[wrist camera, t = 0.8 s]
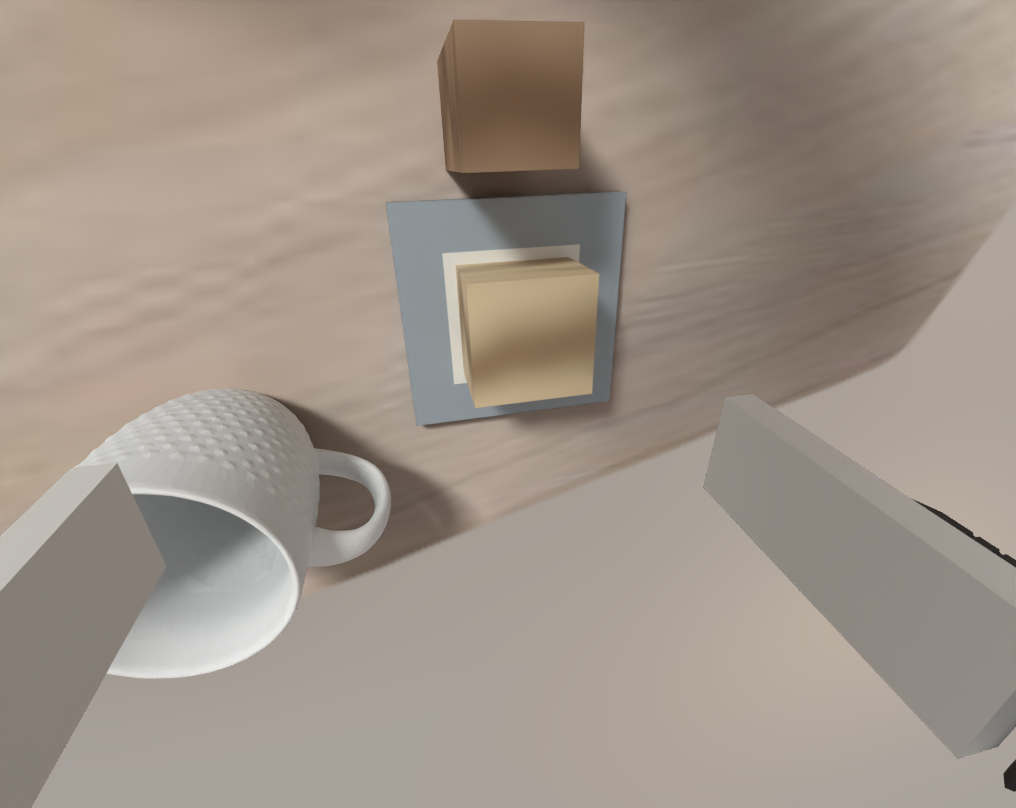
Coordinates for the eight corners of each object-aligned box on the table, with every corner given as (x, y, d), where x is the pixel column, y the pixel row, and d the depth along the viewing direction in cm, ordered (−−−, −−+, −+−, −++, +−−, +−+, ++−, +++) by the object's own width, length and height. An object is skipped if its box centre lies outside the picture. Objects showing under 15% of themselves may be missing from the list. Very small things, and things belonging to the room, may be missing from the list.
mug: (401, 377, 31) (405, 500, 20) (382, 509, 36) (376, 670, 24) (139, 345, 27) (-47, 478, 16) (155, 499, 31) (18, 688, 20)
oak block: (455, 265, 28) (466, 284, 23) (568, 257, 29) (599, 273, 24) (463, 373, 31) (475, 408, 27) (565, 362, 32) (592, 393, 28)
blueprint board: (386, 202, 26) (385, 203, 25) (619, 191, 29) (626, 192, 28) (416, 418, 33) (416, 426, 32) (604, 395, 35) (609, 401, 34)
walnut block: (437, 61, 24) (453, 19, 17) (531, 61, 25) (584, 22, 18) (445, 170, 26) (463, 172, 19) (532, 167, 27) (578, 168, 20)
